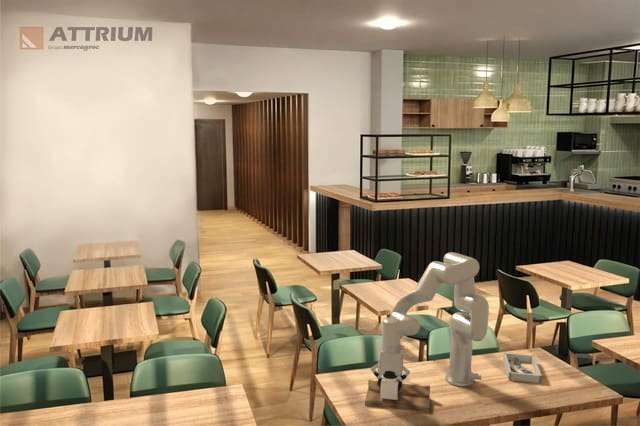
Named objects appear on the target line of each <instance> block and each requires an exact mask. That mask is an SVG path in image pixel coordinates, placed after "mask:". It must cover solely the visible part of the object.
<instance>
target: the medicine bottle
mask: <svg viewBox="0 0 640 426" xmlns="http://www.w3.org/2000/svg"><path fill="white" fill-rule="evenodd" d="M381 377H382V379H381V393H380V398H382V399H392V400H398V394H399V390H398V381H399V378H398V377H397V376H396V375H395V372H392V371H385V373H384V374H383V375H382V376H381Z"/></svg>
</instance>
